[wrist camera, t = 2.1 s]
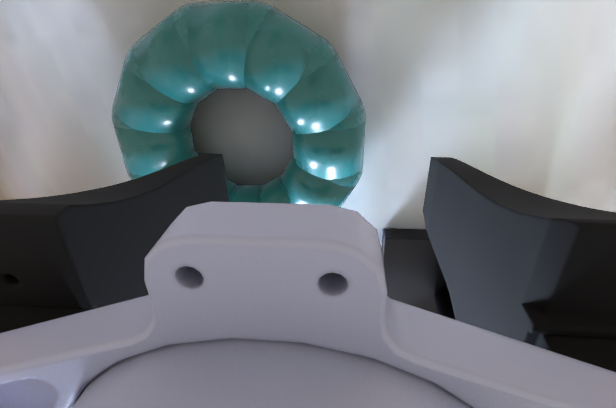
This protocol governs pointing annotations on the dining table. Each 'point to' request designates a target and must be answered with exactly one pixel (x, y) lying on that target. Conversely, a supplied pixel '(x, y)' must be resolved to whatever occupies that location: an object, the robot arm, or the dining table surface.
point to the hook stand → (414, 271)
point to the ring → (242, 75)
